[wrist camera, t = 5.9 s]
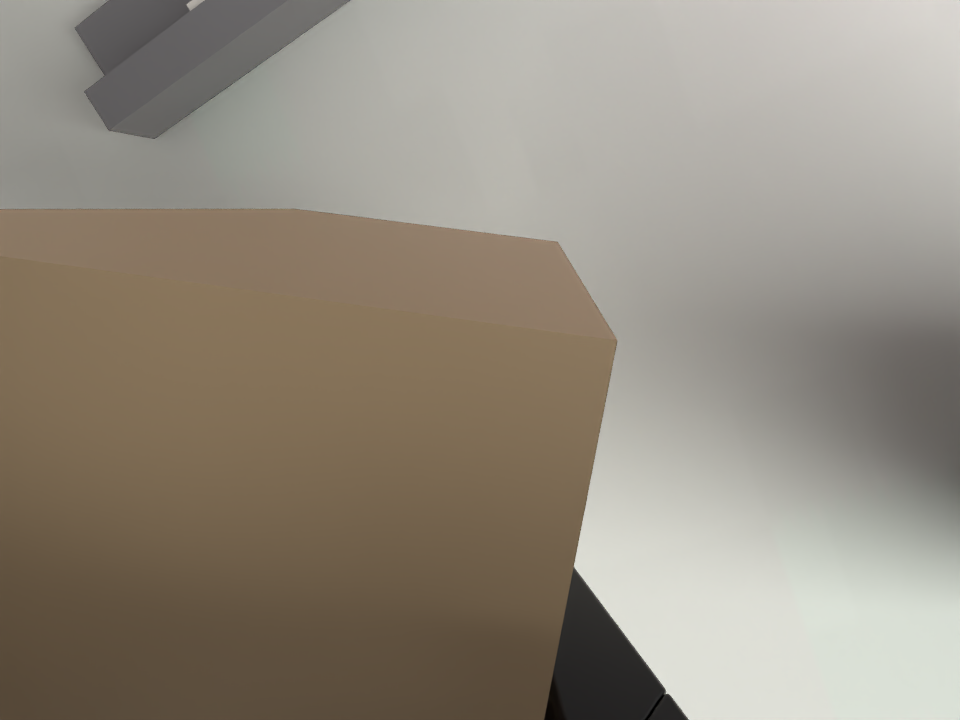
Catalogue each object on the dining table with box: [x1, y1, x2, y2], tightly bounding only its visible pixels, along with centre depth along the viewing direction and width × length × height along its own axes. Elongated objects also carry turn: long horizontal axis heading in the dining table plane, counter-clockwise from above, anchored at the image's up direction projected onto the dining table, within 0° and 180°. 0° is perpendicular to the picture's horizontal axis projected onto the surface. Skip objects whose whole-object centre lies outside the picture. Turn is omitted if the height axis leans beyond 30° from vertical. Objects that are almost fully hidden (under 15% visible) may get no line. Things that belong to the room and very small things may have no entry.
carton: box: [0, 209, 617, 720], centre depth 7 cm, size 5×9×7 cm, turn 174°
